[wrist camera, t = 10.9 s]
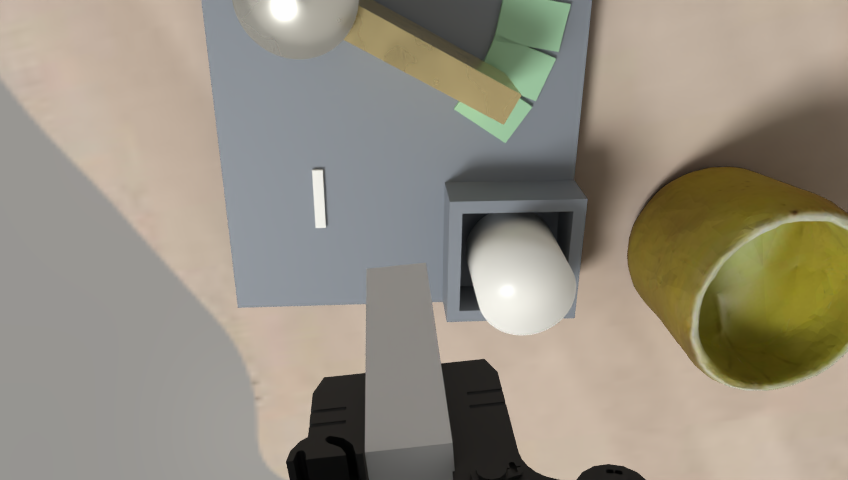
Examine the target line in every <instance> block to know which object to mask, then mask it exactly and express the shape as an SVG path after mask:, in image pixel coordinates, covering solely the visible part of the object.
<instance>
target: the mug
mask: <svg viewBox="0 0 848 480" xmlns="http://www.w3.org/2000/svg"><path fill="white" fill-rule="evenodd" d="M627 259H628V267H629V271H630V275H631V279H632V282H633V285H634V287H635V289H636V291H637V292H638V294H639V295H640V297H641V298H642V299H643V300H644V302H645V303H646V304H647V305H648V306H649V307H650V308H651V310H652V311H653V312H654V313H655V314H656V315H657V316H658V317H659V318H660V320H661V321H662V322H663V324H664V325H665V326H666V328H667V329H668V330H669V332H670V333H671V335H672V336H673V337H674V339H675V340H676V341H677V343H678V344H679V345H680V346H681V347H682V349H683V350H684V351H685V353H686V354H687V356H688V357H689V358H690V360H691V361H692V362H693V363H694V365H695V366H696V367H697V368H699V369H700V370H701V371H702V372H703V373H705V374H706V375H707V376H708V377H710V378H711V379H713V380H715V381H717V382H719V383H722V384H724V385H726V386H729V387H733V388H737V389H742V390H762V391H767V390H774V389H779V388H784V387H787V386H791V385H794V384H797V383H799V382H801V381H804V380H806V379H809V378H811V377H814V376H817V375H818V374H820V373H821V372H823V371H825V370H827V369H828V368H830V367H831V366H832V365H833V364H834V363H836V362H837V361H838V360H839V359H840V358H841V357H842V356H844V355H845V354H846V353H847V352H848V213H846V212H845V211H844V210H842V209H841V208H840V207H838V206H837V205H835V204H834V203H833V202H831V201H829V200H827V199H825V198H823V197H821V196H819V195H817V194H814V193H812V192H809V191H806V190H803V189H800V188H797V187H794V186H792V185H789V184H786V183H783V182H780V181H778V180H775V179H772V178H770V177H767V176H764V175H761V174H759V173H756V172H753V171H750V170H746V169H743V168H737V167H710V168H706V169H702V170H698V171H694V172H691V173H688V174H685V175H683V176H681V177H679V178H677V179H675V180H674V181H672V182H670V183H669V184H667V185H666V186H664V187H663V188H662V189H661V190H660V191H658V192H657V193H656V194H655V195H654V196H653V198H652V199H651V200H650V201H649V202H648V203H647V205H646V206H645V207H644V209H643V210H642V212H641V213H640V215H639V216H638V218H637V219H636V221H635V223H634V225H633V227H632V230H631V234H630V237H629V244H628V253H627Z"/></svg>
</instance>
